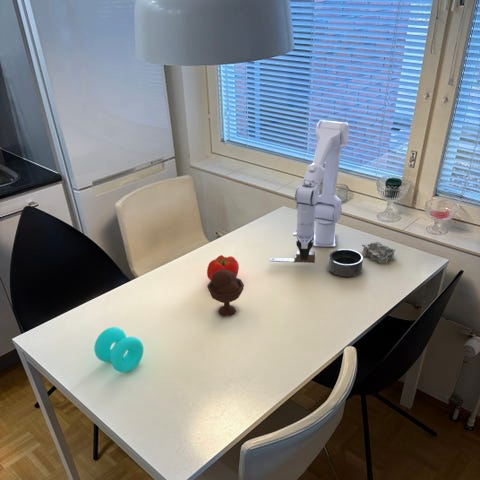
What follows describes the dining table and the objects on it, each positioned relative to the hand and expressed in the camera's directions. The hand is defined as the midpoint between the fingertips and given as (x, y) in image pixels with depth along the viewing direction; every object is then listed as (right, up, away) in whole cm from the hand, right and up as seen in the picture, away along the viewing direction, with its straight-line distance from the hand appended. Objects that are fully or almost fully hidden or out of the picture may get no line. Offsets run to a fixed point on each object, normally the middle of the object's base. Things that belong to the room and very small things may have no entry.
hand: (304, 257), depth 172 cm
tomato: (-28, -9, -4) cm, 30 cm away
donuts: (-55, -34, -36) cm, 74 cm away
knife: (-4, -1, +1) cm, 4 cm away
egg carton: (+27, +1, +6) cm, 28 cm away
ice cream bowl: (-26, -19, -18) cm, 37 cm away
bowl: (+14, -4, -1) cm, 15 cm away
